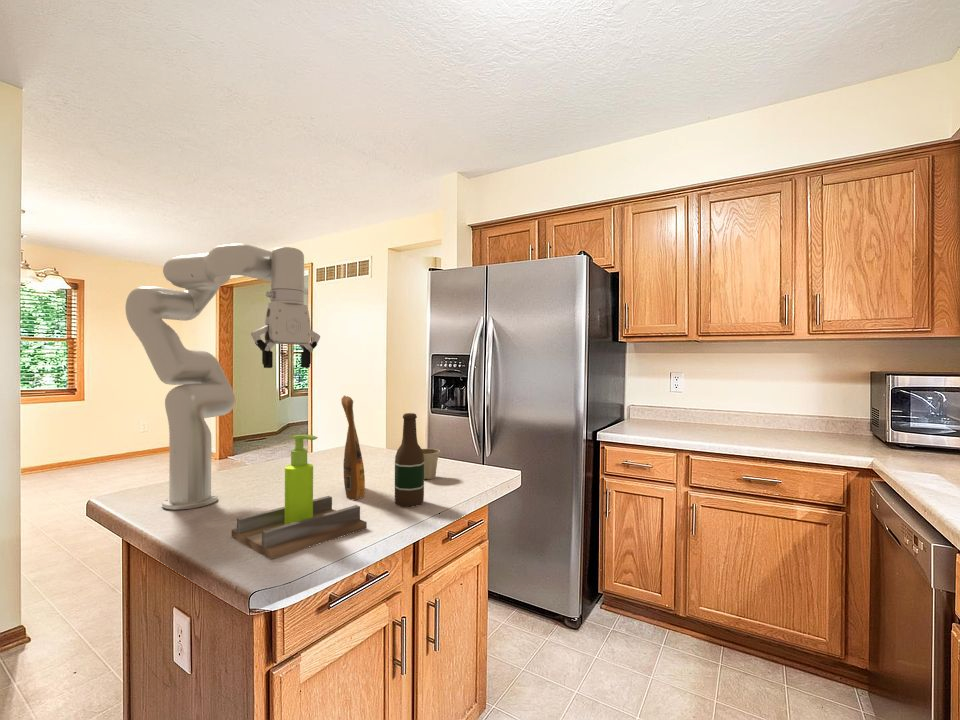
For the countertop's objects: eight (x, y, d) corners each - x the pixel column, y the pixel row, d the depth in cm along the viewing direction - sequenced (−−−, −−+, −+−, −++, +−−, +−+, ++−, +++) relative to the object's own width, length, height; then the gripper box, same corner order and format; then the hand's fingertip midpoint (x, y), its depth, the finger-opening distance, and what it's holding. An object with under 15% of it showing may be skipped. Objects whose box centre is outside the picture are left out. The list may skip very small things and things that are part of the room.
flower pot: (407, 480, 150) (407, 453, 150) (416, 473, 159) (416, 448, 159) (435, 481, 148) (436, 454, 148) (443, 474, 158) (443, 449, 158)
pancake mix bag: (339, 503, 126) (340, 398, 126) (340, 485, 144) (341, 393, 144) (365, 501, 127) (366, 398, 128) (363, 483, 146) (364, 393, 146)
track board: (231, 536, 102) (231, 515, 102) (323, 511, 119) (323, 493, 119) (271, 559, 90) (271, 535, 90) (366, 528, 107) (366, 508, 107)
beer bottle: (411, 509, 121) (411, 416, 121) (388, 504, 125) (388, 414, 125) (429, 502, 127) (430, 413, 127) (407, 497, 131) (408, 411, 131)
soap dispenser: (307, 530, 101) (308, 437, 101) (278, 528, 102) (279, 436, 102) (322, 521, 107) (322, 433, 107) (294, 519, 108) (295, 432, 108)
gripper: (259, 293, 107) (259, 368, 107) (327, 300, 121) (326, 367, 121) (245, 296, 112) (244, 367, 112) (311, 303, 125) (311, 367, 125)
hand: (287, 367), depth 116 cm, fingers open, 9 cm apart
